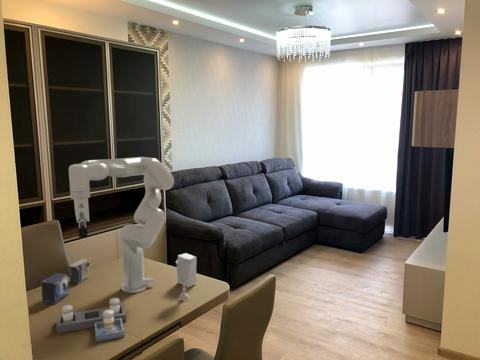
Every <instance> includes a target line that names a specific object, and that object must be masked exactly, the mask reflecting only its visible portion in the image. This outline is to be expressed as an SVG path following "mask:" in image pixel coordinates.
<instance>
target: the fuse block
mask: <svg viewBox="0 0 480 360" xmlns="http://www.w3.org/2000/svg"><path fill="white" fill-rule="evenodd" d="M119 307H120V314H114V319H119V318H122V323H125V322H127V312H126V308H125V305H124V304H121V305H120V304H119ZM105 310H110V306H107V307H103V308H96V309H88V310H83V311H77V312H73V321H72V322H66V323H63V315H62V314H58V315H57V320H56V325H55V326H56V334H61V333H68V332H73V331H80V330H83V329H90V328H95V323H96V322H102V321H103V312H104V311H105Z"/></svg>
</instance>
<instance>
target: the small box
mask: <svg viewBox="0 0 480 360" xmlns="http://www.w3.org/2000/svg"><path fill="white" fill-rule="evenodd" d="M68 279H69V277H68V274H66V273H60V272H59V273H58V272H55V273H54V274H51V275H50V276H49V277H47V278H45V279H43V280H41V292H42V293H41V298H42V304H46V305H52V306H53V305H56V304H58V303H59V302H60V301H62V300H63V299H64V298H66V297H68V296H69V284H68V283H69V280H68Z"/></svg>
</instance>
